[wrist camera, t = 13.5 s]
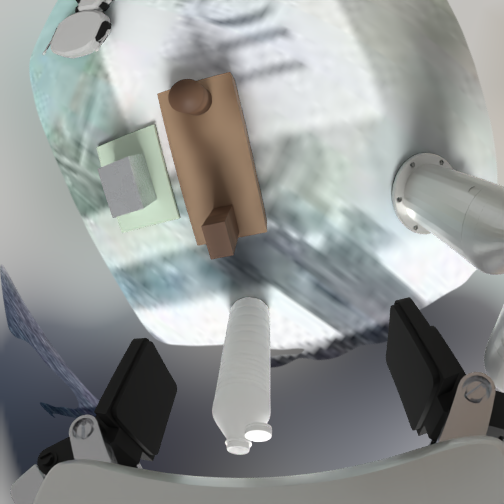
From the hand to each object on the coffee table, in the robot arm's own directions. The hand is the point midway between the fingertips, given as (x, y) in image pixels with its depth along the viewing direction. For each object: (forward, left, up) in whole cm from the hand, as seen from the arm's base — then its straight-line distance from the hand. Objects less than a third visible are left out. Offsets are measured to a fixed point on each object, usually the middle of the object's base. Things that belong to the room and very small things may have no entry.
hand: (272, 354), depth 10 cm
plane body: (+5, -6, -30) cm, 31 cm away
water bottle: (+6, +18, -30) cm, 36 cm away
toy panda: (+20, -36, -31) cm, 51 cm away
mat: (+18, -6, -30) cm, 36 cm away
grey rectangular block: (+18, -6, -30) cm, 35 cm away
